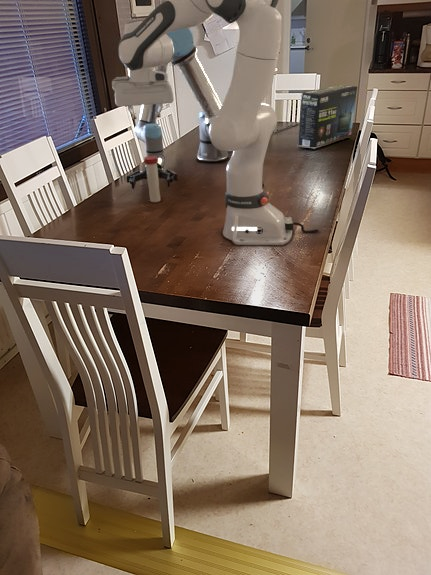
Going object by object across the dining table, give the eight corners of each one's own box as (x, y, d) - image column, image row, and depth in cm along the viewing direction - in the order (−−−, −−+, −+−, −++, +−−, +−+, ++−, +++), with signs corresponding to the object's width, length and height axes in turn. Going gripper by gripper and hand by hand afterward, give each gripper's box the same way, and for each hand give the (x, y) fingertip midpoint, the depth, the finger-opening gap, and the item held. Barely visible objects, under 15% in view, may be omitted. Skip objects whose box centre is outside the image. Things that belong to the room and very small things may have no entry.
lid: (153, 164, 168) (152, 160, 167) (141, 163, 170) (141, 158, 169) (160, 161, 172) (160, 156, 171) (149, 160, 174) (149, 155, 173)
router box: (314, 151, 231) (318, 94, 217) (296, 148, 237) (299, 92, 224) (352, 138, 251) (358, 85, 238) (335, 135, 258) (340, 83, 245)
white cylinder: (156, 202, 177) (152, 160, 168) (148, 201, 178) (143, 159, 170) (162, 199, 180) (158, 157, 171) (153, 197, 181) (149, 156, 173)
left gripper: (184, 175, 195) (183, 192, 177) (125, 178, 195) (119, 195, 177) (183, 157, 191) (182, 173, 173) (123, 160, 191) (116, 176, 173)
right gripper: (110, 78, 152) (116, 122, 159) (172, 74, 154) (175, 117, 162) (111, 76, 157) (117, 118, 164) (170, 72, 160) (173, 114, 167)
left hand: (150, 184), depth 175 cm, fingers open, 13 cm apart
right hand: (146, 118), depth 163 cm, fingers open, 7 cm apart
